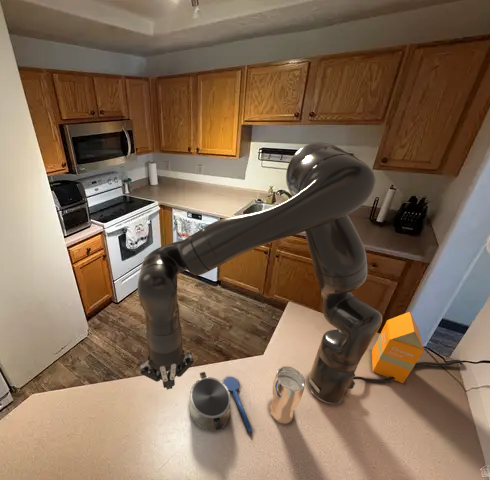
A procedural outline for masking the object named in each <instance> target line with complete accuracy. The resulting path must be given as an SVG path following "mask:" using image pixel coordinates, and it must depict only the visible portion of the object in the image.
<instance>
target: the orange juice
mask: <svg viewBox="0 0 490 480" xmlns="http://www.w3.org/2000/svg"><path fill="white" fill-rule="evenodd" d="M420 333H421V332H420V329H419V327H418V325H417V322H416V321H415V319H414V316H413V314H412V313H411V311H408V312H406V313H402V314H400V315H398V316H394V317H392V318H389V319H386V321H385V324H384V326H383V327H382V330H381V331H380V333H379V335H378V337H377V340H376V341H375V343H374V346H373V347H372V349H371V362H372V372H373V373H376V374H378V375H381V376H383V377H385V378H389V377H394V378H395V379H394V380H393V381H397V382H399V383H401V384H404V383H405V381H406V379H407V378H408V376H409V375H410V373H411V372H412V371H413V370H414V368H415V367H416V366H415V364H416V363H417V362H419V359H420V358H421V356H422V354H423V353H424V352H425V348H424V344H423V340H422V337H421V334H420Z"/></svg>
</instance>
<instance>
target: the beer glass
mask: <svg viewBox="0 0 490 480" xmlns="http://www.w3.org/2000/svg"><path fill="white" fill-rule="evenodd" d="M305 386H306V380H305V377H304V376H303V374H302V373H301V372H300V371H299V370H298V369H296V368H295V367H292V366H289V365H285V366H284V365H283V366H281V367H279V368H278V369H277V370H276V374H275V377H274V380H273V384H272V401H271V402H270V404H269V412H270V415H271V416H272V418H273V419H274V420H275V421H277V422H278V423H280V424H289V423H291V421H292V420H293V418H294V410H295V408H297V406H298V405H299V404H300V402H301V400H302V398H303V395H304V391H305Z"/></svg>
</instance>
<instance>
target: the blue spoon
mask: <svg viewBox="0 0 490 480" xmlns="http://www.w3.org/2000/svg"><path fill="white" fill-rule="evenodd" d="M223 383H224V384H225V385H226V387H227V388H228V390H229V392H230V394H232V395H233V397H234V400H235V403H236V406H237V407H238V410H239V413H240V415H241V417H242V419H243V423H244V425H245V427H246V430H247V432H248V433H252V432H253V427H252V426H251V423H250V420H249V418H248V416H247V413H246V410H245V408H244V406H243V404H242V401H241V399H240V397H239V394H238V390H239V387H240V382H239V381H238V379H236V378H235V377H234V376H228V377H226V378H225V379H224V380H223Z"/></svg>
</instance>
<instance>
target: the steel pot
mask: <svg viewBox="0 0 490 480" xmlns="http://www.w3.org/2000/svg"><path fill="white" fill-rule="evenodd" d="M199 377H200V378H199V379H198V380H196V381H195V382H194V383H193V385H192V386H191V389H190V392H189V412H190V415H191V418H192V420H193V422H194V423H195V424H196V425H197V426H199V428H202V429H203V430H206V431H219V430H222V429H223V428H224V426H226V424H227V422H228V420H229V417H230V412H231V404H232V396H231V392H229V390H228V388H227V387H226V385H225V384H224V381H222V380H220V379H218V378H215V377H212V376H207V373H206V371H201V372H199Z"/></svg>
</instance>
